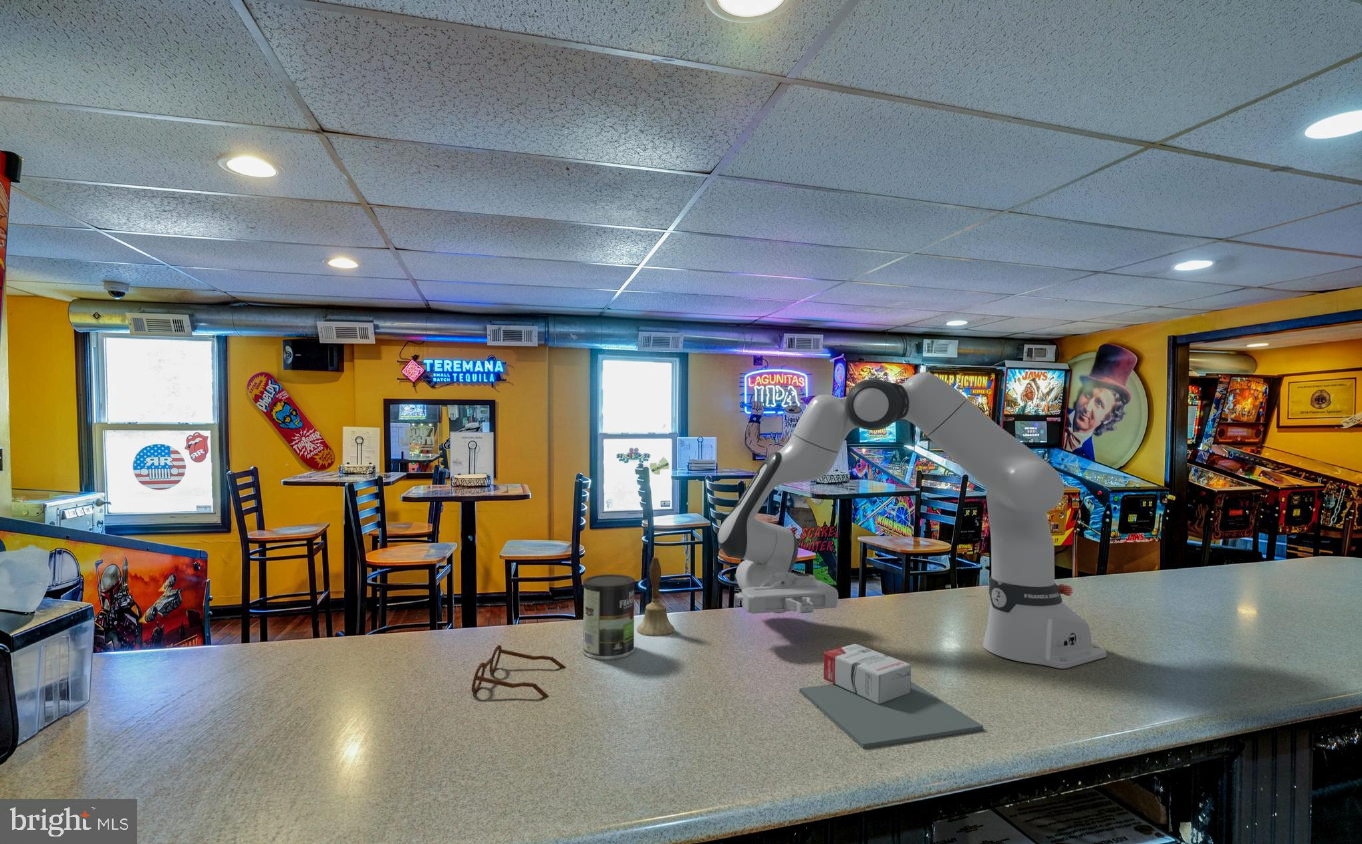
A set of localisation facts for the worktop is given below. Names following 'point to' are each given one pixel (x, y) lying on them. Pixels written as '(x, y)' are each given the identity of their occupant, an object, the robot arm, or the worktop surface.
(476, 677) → the glasses
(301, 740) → the worktop surface
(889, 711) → the rubber mat
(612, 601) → the coffee can
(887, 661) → the ink box
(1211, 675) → the worktop surface
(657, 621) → the hand bell
